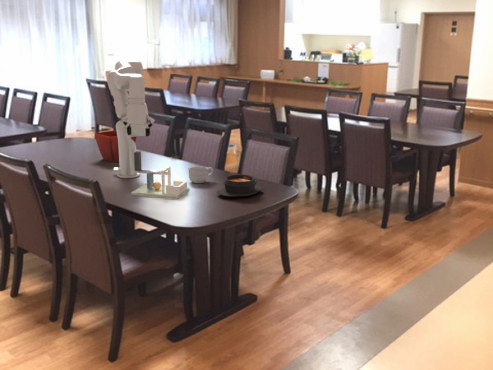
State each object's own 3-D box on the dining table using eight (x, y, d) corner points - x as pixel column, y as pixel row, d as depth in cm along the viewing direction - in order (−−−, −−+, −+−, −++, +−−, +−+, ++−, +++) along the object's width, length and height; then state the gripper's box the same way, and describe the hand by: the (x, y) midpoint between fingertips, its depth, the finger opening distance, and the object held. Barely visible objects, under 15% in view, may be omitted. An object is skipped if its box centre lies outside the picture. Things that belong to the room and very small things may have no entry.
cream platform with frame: (131, 194, 283) (130, 170, 279) (146, 185, 299) (145, 162, 296) (176, 199, 277) (176, 174, 274) (189, 189, 294) (189, 165, 290)
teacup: (190, 185, 302) (190, 170, 300) (186, 180, 312) (186, 165, 310) (215, 183, 305) (215, 169, 303) (211, 178, 315) (211, 164, 313)
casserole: (246, 186, 302) (247, 170, 300) (270, 194, 288) (270, 178, 286) (208, 194, 287) (208, 177, 284) (231, 202, 273) (232, 186, 271)
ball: (152, 190, 287) (151, 182, 286) (155, 188, 291) (155, 180, 290) (159, 190, 286) (159, 183, 285) (162, 188, 290) (162, 181, 289)
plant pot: (95, 159, 357) (93, 132, 353) (121, 154, 370) (120, 129, 366) (111, 164, 344) (110, 137, 340) (138, 159, 357) (137, 133, 353)
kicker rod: (134, 187, 288) (133, 152, 284) (138, 185, 293) (137, 150, 288) (168, 190, 284) (167, 155, 279) (172, 188, 289) (171, 153, 284)
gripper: (117, 101, 278) (119, 135, 282) (150, 102, 274) (151, 137, 278) (124, 99, 285) (125, 133, 289) (156, 101, 281) (157, 135, 285)
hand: (138, 135), depth 284 cm, fingers open, 9 cm apart
